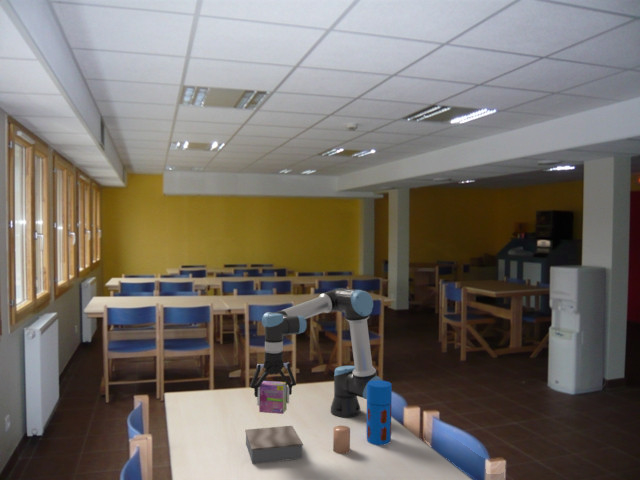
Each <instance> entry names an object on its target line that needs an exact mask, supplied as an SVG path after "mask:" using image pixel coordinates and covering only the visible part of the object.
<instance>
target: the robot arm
mask: <svg viewBox="0 0 640 480" xmlns="http://www.w3.org/2000/svg"><path fill="white" fill-rule="evenodd" d="M373 308H374V301H373V298H372V296H371V294H370V293H369V292H368V291H365V290H362V289H354V288H353V289H352V288H345V287H341V288H335V289H333V290H329V291H327V292H323V293H321V294H319V295H318V297H315V298H313V299H311V300H307V301H304V302H302V303H299V304H297V305H293V306H290V307H286V308H285V309H282V310H278V311H276V312H275V311H274V312H272V311H267V312H265V313H264V314H263V315H262V317H261V325H262V327H264V362H263V363H257V364H256V369H255V372H254V375H253V377H252V380H251V381H250V384H249V386H250V388H251V389H253V390H254V393H253V394H254V398H256V405H257V406H258V407H259V405H260V389H259V386H260V385H261V384H262V382H263V381H265V380H266V378H267V377H268V376H269V375H278V374H279V375H280V376H281V377H282V378H283V380H284V382H286V383H287V404H290V396H291V395H292V392H293V390H292V388H293V387H294V386H296V385H297V382H296V379H295V377H294V375H293V372H292V369H291V363H290V362H289V361H287V362H284V360H283V359H284V358H283V357H284V353H283V350H284V336H291V335H299V334H301V333H304V332H306V329H307V319H309V318H312V317H314V316H317V315H320V314H323V313H325V314H328V313H331V312H337V313H338V312H339V313H344V318H345V321H347V322H348V323H349V324H348V325H349V332H350V340H351V348H352V349H351V350H352V354H353V357H352V358H353V362H354V363H353V365H342V366H337V367H336V368H335V369H334V375H333V380H334V381H333V382H334V383H333V385H334V386H333V391H334V392H333V393H334V394H333V396H334V397H333V400H332V401H331V405H330V413H331V414H332V415H334V416H337V417H339V418H340V417H342V418H351V417H356V416H359V415H360V414H361V405H360V403H359V399H358V397H359V398H362V399H364V400H367V383H368V382H369V381H374V380H381V381H383V379H382V378H381V377H380V376H379V375H377V369H376V368H375V367H374V366H373V361H372V359H373V358H372V353H371V352H372V351H371V343H370V335H369V327H368V326H369V325H368V319H369V318H370V315H371V313H372V312H373ZM263 368H264V371H263V373H262V375H261V376H260V378H259V374H260V372H261V370H262V369H263ZM284 368H285V369H286V371H287V373H288V375H289V378H290V381H291V382H290V381H289V379H288V378H287V376H286V375H285V374H284V372H283V371H282V369H284Z"/></svg>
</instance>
